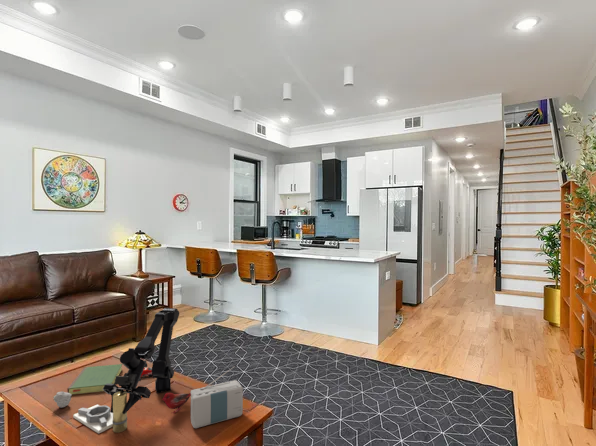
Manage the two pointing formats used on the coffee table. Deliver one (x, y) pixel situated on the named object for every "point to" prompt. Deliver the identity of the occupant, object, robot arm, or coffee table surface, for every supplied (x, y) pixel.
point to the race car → (146, 373)
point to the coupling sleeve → (119, 411)
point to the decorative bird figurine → (175, 400)
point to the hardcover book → (94, 378)
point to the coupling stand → (95, 417)
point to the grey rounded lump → (62, 399)
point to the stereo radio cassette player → (216, 403)
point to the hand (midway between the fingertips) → (117, 413)
